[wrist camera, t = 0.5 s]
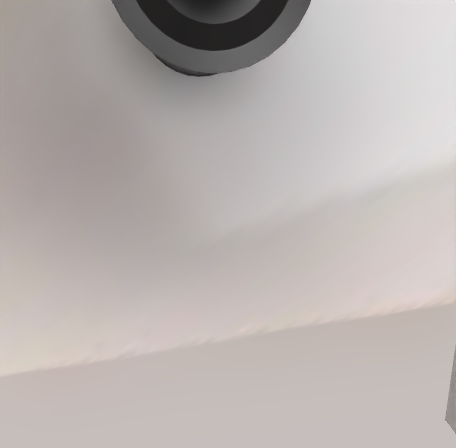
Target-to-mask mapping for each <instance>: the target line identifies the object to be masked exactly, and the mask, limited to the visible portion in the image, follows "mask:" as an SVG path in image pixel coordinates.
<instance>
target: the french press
mask: <svg viewBox="0 0 456 448" xmlns="http://www.w3.org/2000/svg"><path fill="white" fill-rule="evenodd" d="M112 2H113V4H114V6H115V8H116V10H117V12H118V13H119V15H120V17H121V19H122V21H123V22H124V23H125V24H126V26H127V27H128V28H129V29H130V31H131V32H132V33H133V34H134V36H135V37H136V38H137V39H138V40H139V41H140V42H141V43H143V44H144V45H145V46H146V47H147V48H148V49H149V50H151V51H152V52H153V54H154V55H155V56H156V57H157V58H158V59H159V60H160V61H161V62H162V63H164V64H165V65H166V66H168V67H169V68H171V69H173V70H175V71H176V72H179V73H182V74H185V75H190V76H198V77H200V76H211V75H214V74H217V73H221V72H232V71H235V70H239V69H242V68H245V67H249V66H251V65H253V64H255V63H257V62H259V61H261V60H262V59H264V58H266V57H268V56H269V55H270V54H272V53H273V52H274V51H275V50H276V49H278V48H279V47H280V46H281V45H282V44H284V43H285V42H286V40H287V39H288V38H289V37H290V35H291V34H292V33H293V32H294V31H295V29H296V28H297V27H298V25H299V24H300V22H301V20H302V18H303V16H304V15H305V13H306V11H307V9H308V7H309V5H310V2H311V0H112Z"/></svg>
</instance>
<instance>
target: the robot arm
mask: <svg viewBox="0 0 456 448" xmlns="http://www.w3.org/2000/svg"><path fill="white" fill-rule="evenodd" d="M445 420H446V421H447V423H448V424H449V425H450V426H451V428H452V429H453V431H454V432H455V433H456V348H455V354H454V362H453V369H452V376H451V383H450V390H449V397H448V404H447V411H446V419H445Z"/></svg>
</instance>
